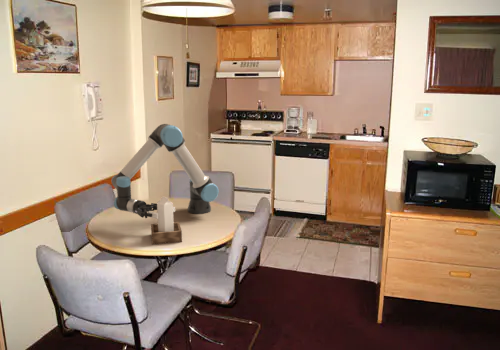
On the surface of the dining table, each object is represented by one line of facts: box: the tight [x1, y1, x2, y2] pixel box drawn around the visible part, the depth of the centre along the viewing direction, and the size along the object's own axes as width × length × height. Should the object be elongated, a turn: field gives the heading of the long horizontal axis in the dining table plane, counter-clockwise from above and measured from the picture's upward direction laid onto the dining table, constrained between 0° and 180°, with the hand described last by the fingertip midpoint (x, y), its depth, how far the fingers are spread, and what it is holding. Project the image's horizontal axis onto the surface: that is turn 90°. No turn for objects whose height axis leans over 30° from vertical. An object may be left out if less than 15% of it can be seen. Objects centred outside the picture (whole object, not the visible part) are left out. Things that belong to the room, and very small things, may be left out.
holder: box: [150, 221, 183, 245], centre depth 228 cm, size 15×15×6 cm
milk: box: [156, 196, 174, 232], centre depth 226 cm, size 6×6×22 cm
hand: (166, 212), depth 225 cm, fingers open, 13 cm apart
